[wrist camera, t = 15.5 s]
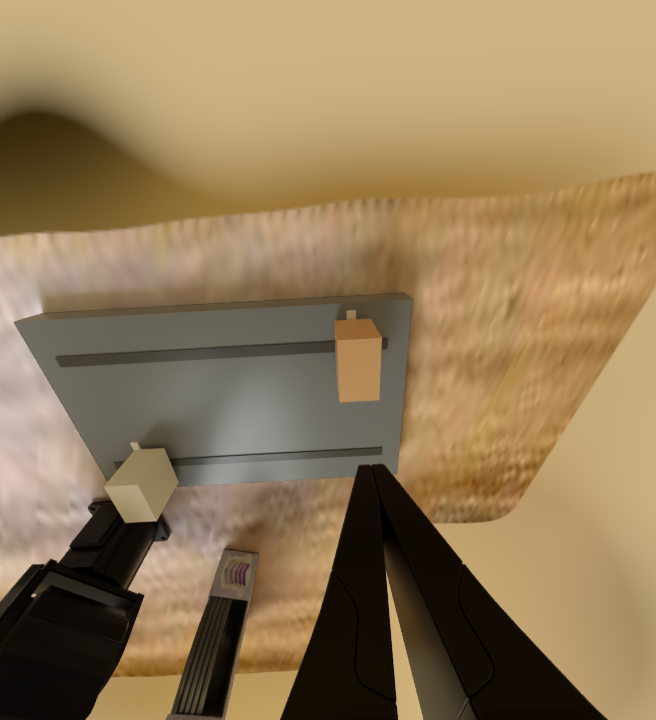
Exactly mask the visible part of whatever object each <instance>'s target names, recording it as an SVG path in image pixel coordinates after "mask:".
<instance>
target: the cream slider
mask: <svg viewBox="0 0 656 720" xmlns="http://www.w3.org/2000/svg"><path fill="white" fill-rule="evenodd" d="M178 483H179V482H178V479H177V477H176V475H175V472H174V470H173V468H172V465H171V463H170V461H169V458H168V456H167V453H166V451H165V449H164V448H158V449H140V450H134V452H133V453H132V454H131V455H130V456H129V457H128V459H127V460H126V461H125V462H124V463H123V464H122V466H121V467H120V468H119V469H118V470H117V472H116V473H115V474H114V475H113V476H112V477H111V479H110V480H109V481H108V482H107V483H106V484H105V486H104V488H105V490H106V492H107V493H108V495H109V497H110V498H111V500H112V502H113V503H114V505H115V507H116V508H117V510H118V512H119V513H120V515H121V516H122V518H123V520H124V521H125V523H132V522H151V521H157V520H158V518H159V516H160V514H161V513H162V511H163V509H164V507H165V506H166V504H167V502H168V500H169V499H170V497H171V495H172V493H173V492H174V490H175V488H176V486H177V484H178Z"/></svg>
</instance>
